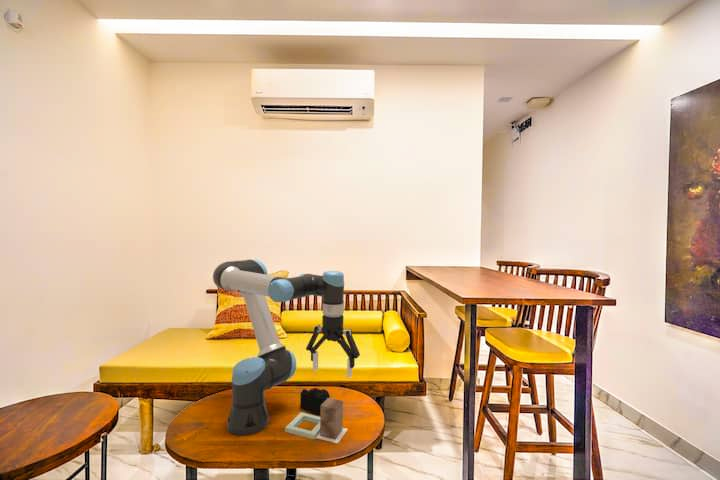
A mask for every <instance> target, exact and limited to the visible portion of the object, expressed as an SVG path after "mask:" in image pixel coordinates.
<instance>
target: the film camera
mask: <svg viewBox="0 0 720 480" xmlns="http://www.w3.org/2000/svg"><path fill="white" fill-rule="evenodd" d="M299 396H300V398H299V401H300V406H299V408H300V410H303V411H305V412H308V413H309V414H310V413H311V414H312V415H315V416H319V417H320V408H321V405H322V403H323V402H324V401H325V400H326V399H327V398H331V397H330V393H329V391H328V390H327V389H324V388H322V389H319V388H317V387H313V388H311V389H309V390H307V389H306V388H303V389H302V391H300V394H299Z"/></svg>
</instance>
